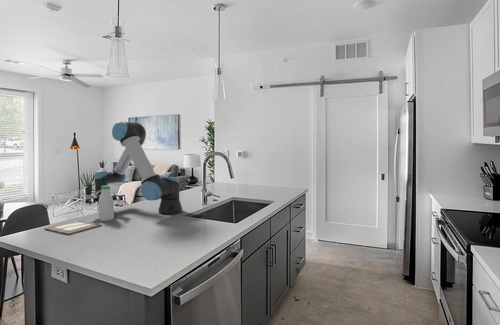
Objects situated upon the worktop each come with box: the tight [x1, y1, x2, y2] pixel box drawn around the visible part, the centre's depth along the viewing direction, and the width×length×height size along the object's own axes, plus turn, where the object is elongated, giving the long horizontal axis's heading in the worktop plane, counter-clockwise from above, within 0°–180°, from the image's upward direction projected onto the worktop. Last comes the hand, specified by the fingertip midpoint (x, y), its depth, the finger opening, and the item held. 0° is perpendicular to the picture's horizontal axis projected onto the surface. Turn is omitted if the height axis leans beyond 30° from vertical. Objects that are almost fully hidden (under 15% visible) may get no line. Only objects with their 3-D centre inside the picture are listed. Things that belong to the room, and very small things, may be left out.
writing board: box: [44, 219, 102, 236], centre depth 155 cm, size 20×18×1 cm
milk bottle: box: [98, 185, 115, 222], centre depth 171 cm, size 8×8×20 cm
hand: (105, 201), depth 170 cm, fingers open, 13 cm apart
